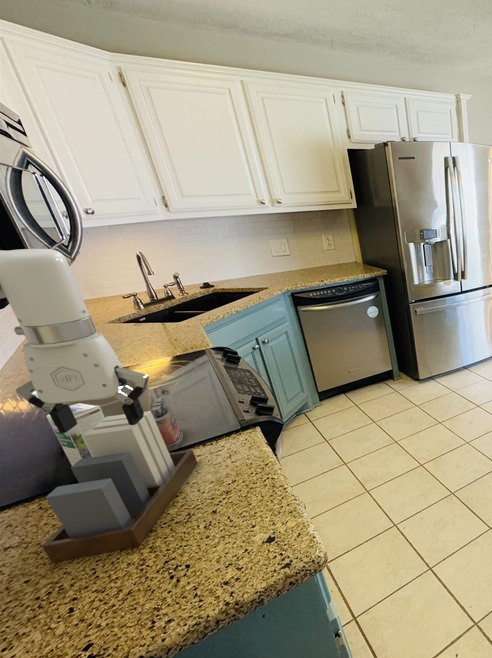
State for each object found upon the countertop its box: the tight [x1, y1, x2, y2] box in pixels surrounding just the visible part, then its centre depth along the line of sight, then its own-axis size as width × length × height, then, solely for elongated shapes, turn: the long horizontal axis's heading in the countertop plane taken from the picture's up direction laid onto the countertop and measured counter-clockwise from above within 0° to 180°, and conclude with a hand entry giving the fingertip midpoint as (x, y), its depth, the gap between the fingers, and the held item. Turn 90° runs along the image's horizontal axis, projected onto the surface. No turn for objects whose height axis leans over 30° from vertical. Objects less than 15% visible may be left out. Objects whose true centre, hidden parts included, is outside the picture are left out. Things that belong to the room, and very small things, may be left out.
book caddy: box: [41, 449, 199, 564], centre depth 74 cm, size 12×23×4 cm, turn 16°
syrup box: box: [46, 403, 105, 467], centre depth 82 cm, size 6×6×14 cm
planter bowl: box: [63, 380, 152, 418], centre depth 96 cm, size 16×16×11 cm
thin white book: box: [84, 424, 163, 487], centre depth 74 cm, size 7×2×15 cm, turn 106°
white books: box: [93, 410, 175, 482], centre depth 78 cm, size 7×4×15 cm, turn 106°
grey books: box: [45, 452, 151, 538], centre depth 68 cm, size 7×9×12 cm
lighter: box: [151, 397, 184, 450], centre depth 93 cm, size 8×3×10 cm, turn 30°
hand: (103, 425), depth 71 cm, fingers open, 9 cm apart
